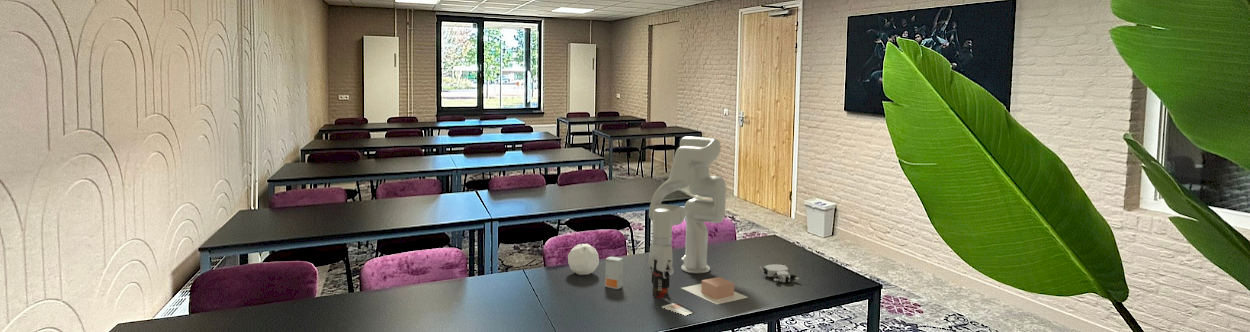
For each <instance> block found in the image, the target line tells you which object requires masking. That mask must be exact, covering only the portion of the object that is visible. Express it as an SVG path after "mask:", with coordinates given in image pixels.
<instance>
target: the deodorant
mask: <svg viewBox="0 0 1250 332" xmlns="http://www.w3.org/2000/svg"><path fill="white" fill-rule="evenodd" d="M656 264H657V260H655V259H654V268H653V273H652V274H653V283H652V297H653V298H656V299H665V298H667V297H665V296H667V295H668V294H669V287H668V288H662V278H663V274H662V272H661V271H658V270H657V269H656ZM666 270H667V268H666ZM665 274H667V272H665Z"/></svg>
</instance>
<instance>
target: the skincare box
mask: <svg viewBox="0 0 1250 332" xmlns="http://www.w3.org/2000/svg"><path fill="white" fill-rule="evenodd" d="M623 270H624V258H623V257H618V256H608V257H606V258H605V277H604V281H605V282H604V286H605V287H607V288H610V289H614V290H619V289H621V288H623V279H624V278H623V277H624V273H623V272H624V271H623Z"/></svg>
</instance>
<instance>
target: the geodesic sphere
mask: <svg viewBox="0 0 1250 332" xmlns="http://www.w3.org/2000/svg"><path fill="white" fill-rule="evenodd" d="M567 262H568V266H569V268H570V270H571V271H572V272H574V273H575V274H577V275H579V276H585V275H591V273H593V272H595V271H596V268H597V267H598V266H599V264H600V259H599V253H598V251H597V249H596V248H595V247H594V246H592V245H590V244H589V243H579V244H576V245H575V246H574V247H573V248H572V249H571V250H570V251H569V253H568V255H567Z"/></svg>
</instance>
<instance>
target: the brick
mask: <svg viewBox="0 0 1250 332" xmlns="http://www.w3.org/2000/svg"><path fill="white" fill-rule="evenodd" d="M700 284H701V293H703V294H705V295H708V296H710V297H712V298H714V299H720V298H724V297H729V296H733V295H734V291H735V282H732V281H730V280H727V279H725V278H722V277H720V276H718V277H717V276H716V277H712V278H708V279H702V280H701V283H700Z"/></svg>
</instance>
